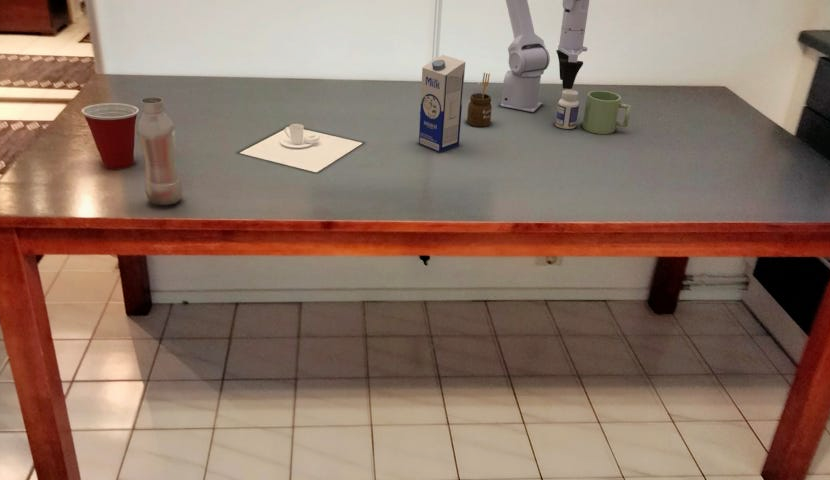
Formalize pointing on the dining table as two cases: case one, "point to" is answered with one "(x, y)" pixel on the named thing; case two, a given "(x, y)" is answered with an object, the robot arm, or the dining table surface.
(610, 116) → the mug
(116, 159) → the plastic cup
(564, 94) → the pill bottle
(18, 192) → the dining table surface
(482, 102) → the utensil holder
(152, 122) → the plastic bottle
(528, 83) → the robot arm
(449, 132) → the milk carton
